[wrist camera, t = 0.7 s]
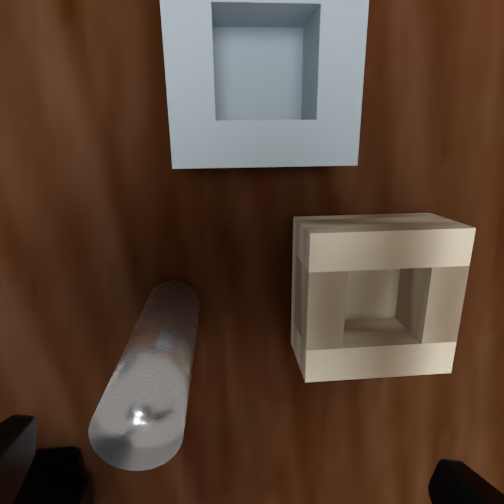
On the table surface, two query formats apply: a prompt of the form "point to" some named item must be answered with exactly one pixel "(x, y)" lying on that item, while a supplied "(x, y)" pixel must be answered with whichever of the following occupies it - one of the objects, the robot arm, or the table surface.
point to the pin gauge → (150, 384)
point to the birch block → (377, 294)
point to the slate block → (264, 81)
